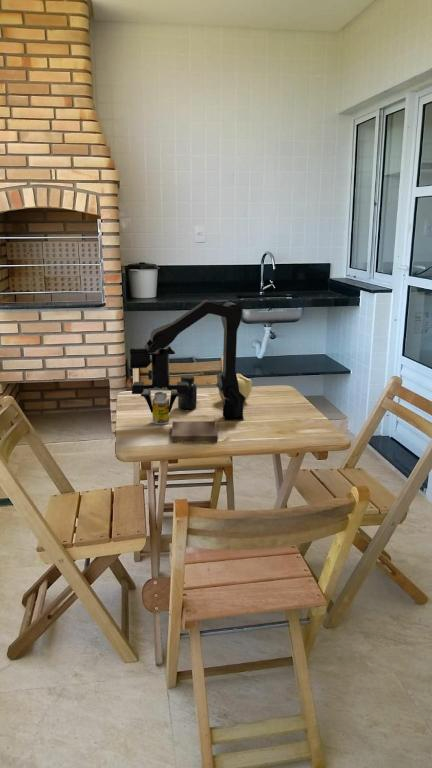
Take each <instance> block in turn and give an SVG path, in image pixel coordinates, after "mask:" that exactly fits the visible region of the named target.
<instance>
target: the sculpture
mask: <svg viewBox="0 0 432 768" xmlns="http://www.w3.org/2000/svg"><path fill="white" fill-rule="evenodd" d="M236 376H237V379H238V385H239V392H240V393H241V394H242V395H243V396H244V397H245V401H244V403H245V402H246V401H247V400H248V399H249V396H250V394H251V392H252V389H253V386H252V385H253V381H252V380H251V379H250V378H247V377H245V376H243V375H242V374H241V373H236ZM218 394H219V397H220V399H221V400H222V401H223V403H225V399H226V398H225V397H224V395H223V394H222V393H221V392H220V391H219V390H218Z"/></svg>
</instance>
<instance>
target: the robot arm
mask: <svg viewBox="0 0 432 768" xmlns="http://www.w3.org/2000/svg"><path fill="white" fill-rule="evenodd" d="M210 314H211V315H215V316H218V317H220V318H221V323H222V326H223V352H222V353H223V354H222V371H221V373H220V374H217V375H216V378H217V379H216V380H217V382H216V384H215V386H216V387H217V388H218V392H219V391H220V392H221V393H222V394H223V395H224V397H225V398H226V399H225V402H223V403H222V416H223V418H224V420H225V421H243V420H244V403H245V402H246V401H245V397H244V396H243V395H242V394H241V393H240V392H239V385H238V379H237V376H236V374H237V373H236V369H237V367H236V365H237V363H236V362H237V342H238V341H237V340H238V338H237V337H238V336H237V335H238V330H239V326H240V325H241V321H242V316H243V310H242V308H241V306H239V305H238V304H236V303H233V302H232V301H227V302H225V303H221V302H214V301H210V300H207V299H204V300H201V302H200V303H198V304H197V305H196V306H194V307H192V308H191V309H190V310H188V311H187V312H185V313H183V314H182V315H181V316H179V317H178V318H176V319H175V320H174V321H171V322H170V323H167V324H164V325H161V326H158V327H157V328H154V329H153V330H152V331H151V333H150V337H149V340H148V341H147V342H146V344H145V345H144V347H129V348H128V356H127V359H128V360H127V362H128V368H129V369H130V370H133V369H147V368H148V367H149V366H150V365H151V370H150V369H149V370H148V373H147V375H148V378H147V379H148V380H149V381H151V384H145V381H134V382H133V383H132V384H131V395H140V396H141V397H143V398H144V399H145V401H146V403H147V405H148V408H149V410H150V413H151V414H153V403H152V401H153V398H152V393H151V391H155V392H157V391H158V392H166V391H170V398H169V414H170V413H171V412H172V408H173V405H174V402H175V401H176V399H177V398H178V396H180V394H189V384H188V382H181V381H176V384H170V355H175V354H176V352H175V350H174V349H172V348H171V346H170V345H171V343H173V342H174V341H175V339H176V338H177V337H178V336H179V335H180V334H181V333H182V332H183V331H185V330H186V329H188V328H189V327H191V326H192V325H193V324H195V323H197V322H198V321H200V320H202V319H203V318H205V316H207V315H210ZM244 401H245V402H244Z"/></svg>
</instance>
